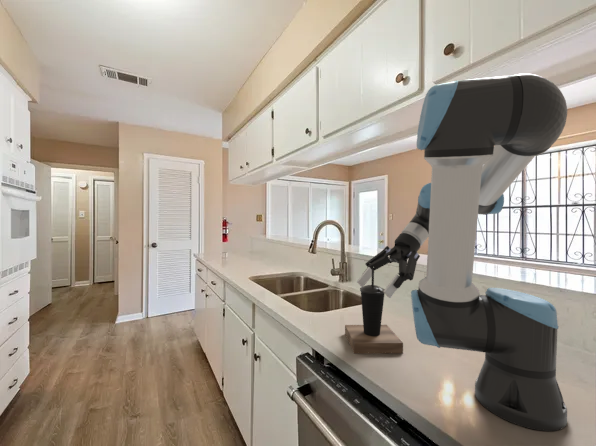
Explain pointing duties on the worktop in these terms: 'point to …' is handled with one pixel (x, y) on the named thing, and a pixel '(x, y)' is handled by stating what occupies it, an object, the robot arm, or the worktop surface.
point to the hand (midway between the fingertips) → (372, 289)
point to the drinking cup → (372, 308)
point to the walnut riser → (373, 341)
